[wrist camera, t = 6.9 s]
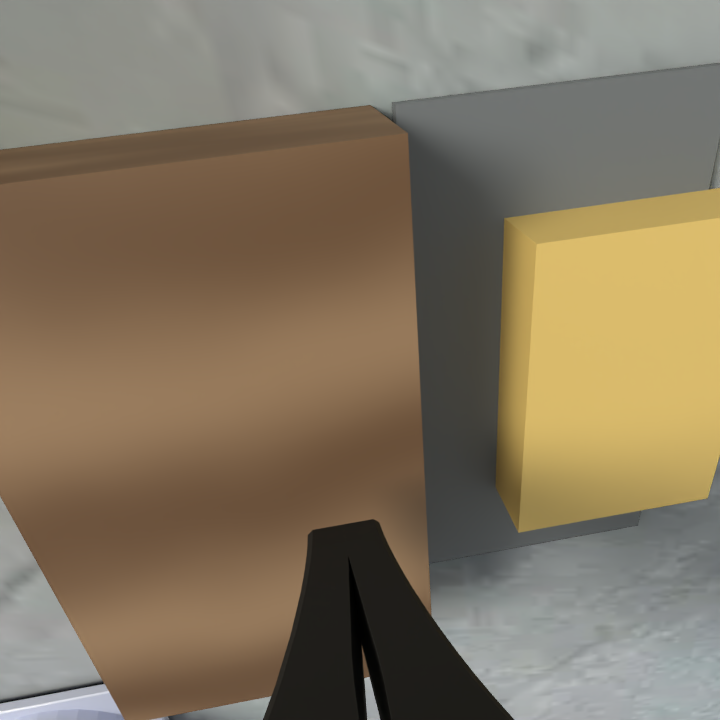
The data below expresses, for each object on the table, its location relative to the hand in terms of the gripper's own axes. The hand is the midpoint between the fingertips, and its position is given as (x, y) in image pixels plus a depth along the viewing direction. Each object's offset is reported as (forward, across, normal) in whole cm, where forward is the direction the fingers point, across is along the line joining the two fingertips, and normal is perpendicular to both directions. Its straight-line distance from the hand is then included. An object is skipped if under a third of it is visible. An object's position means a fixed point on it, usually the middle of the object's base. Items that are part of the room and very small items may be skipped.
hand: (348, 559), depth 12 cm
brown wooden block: (+6, +2, 0) cm, 6 cm away
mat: (+6, -7, 0) cm, 9 cm away
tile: (+4, -8, 0) cm, 9 cm away
